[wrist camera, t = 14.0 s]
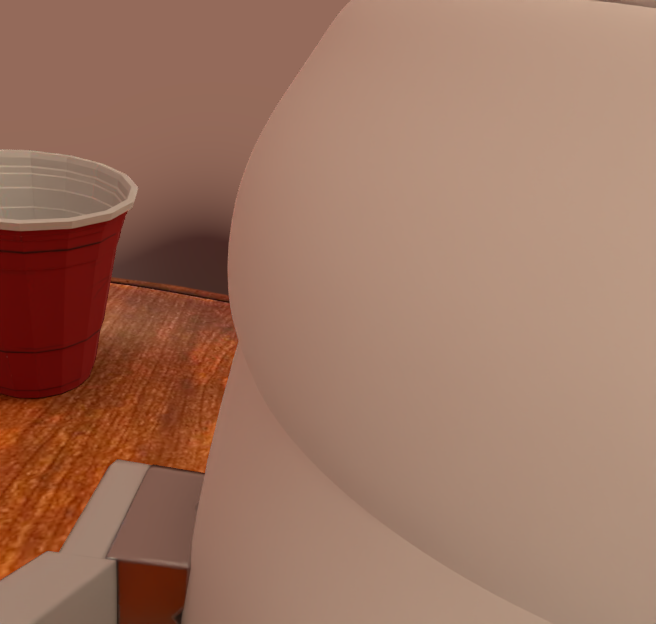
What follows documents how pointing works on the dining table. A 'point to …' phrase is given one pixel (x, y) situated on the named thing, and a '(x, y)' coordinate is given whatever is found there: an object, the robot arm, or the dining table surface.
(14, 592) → the robot arm
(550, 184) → the water bottle
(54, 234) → the plastic cup
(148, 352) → the dining table surface
